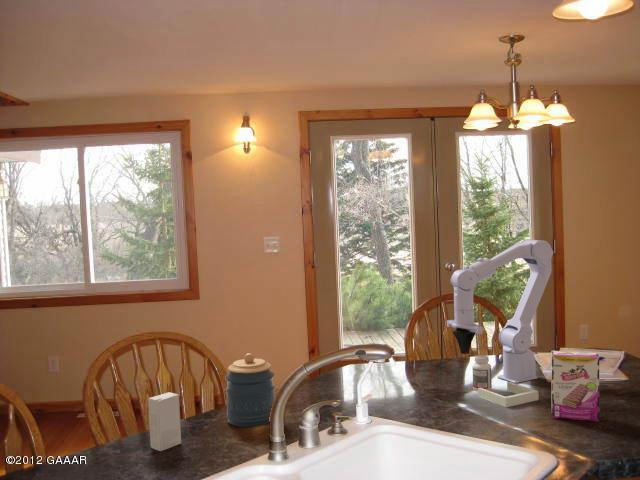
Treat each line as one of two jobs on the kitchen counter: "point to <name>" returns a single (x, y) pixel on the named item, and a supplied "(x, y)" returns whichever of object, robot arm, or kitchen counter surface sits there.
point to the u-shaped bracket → (521, 396)
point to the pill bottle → (482, 373)
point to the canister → (249, 392)
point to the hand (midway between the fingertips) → (464, 353)
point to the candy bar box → (575, 385)
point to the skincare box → (164, 421)
